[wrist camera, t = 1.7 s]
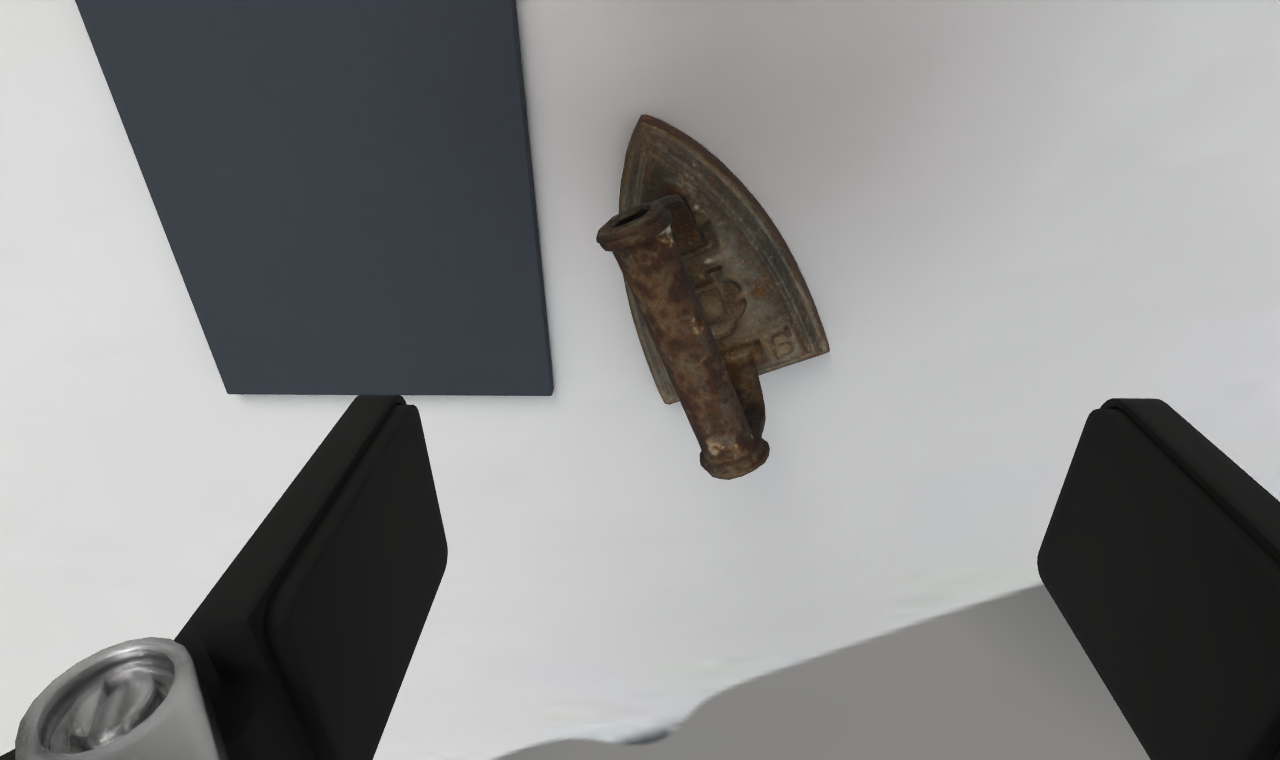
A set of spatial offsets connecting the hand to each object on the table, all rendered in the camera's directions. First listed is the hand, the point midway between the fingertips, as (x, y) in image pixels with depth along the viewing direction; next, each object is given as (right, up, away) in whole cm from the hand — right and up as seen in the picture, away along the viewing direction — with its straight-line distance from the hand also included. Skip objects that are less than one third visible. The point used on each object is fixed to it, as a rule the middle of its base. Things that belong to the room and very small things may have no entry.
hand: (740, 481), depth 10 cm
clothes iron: (+1, +6, +16) cm, 18 cm away
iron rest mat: (-12, +10, +15) cm, 22 cm away
